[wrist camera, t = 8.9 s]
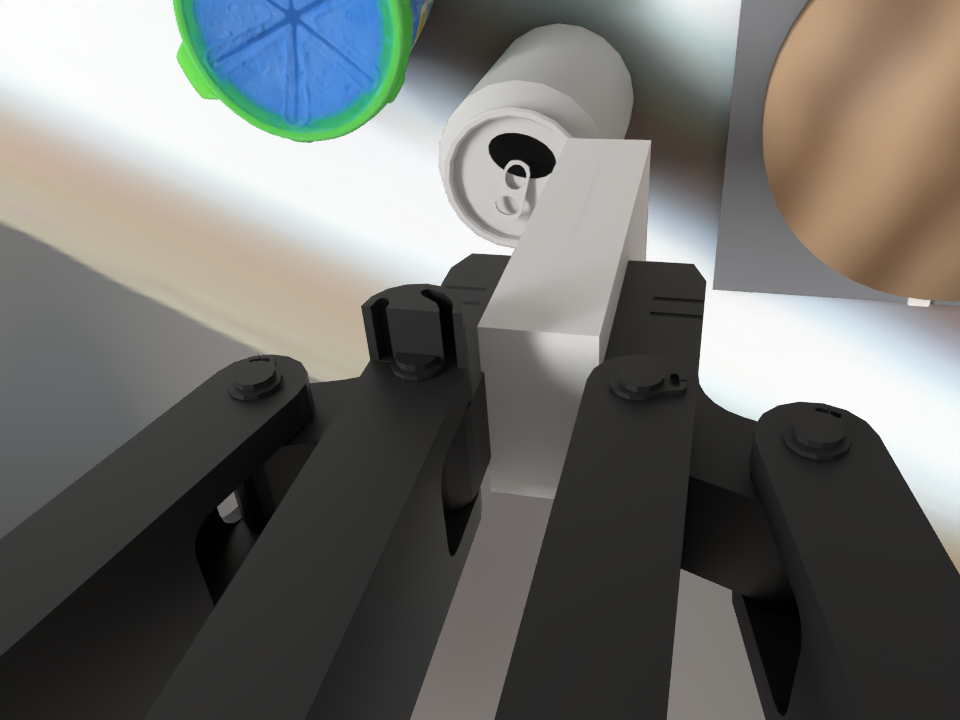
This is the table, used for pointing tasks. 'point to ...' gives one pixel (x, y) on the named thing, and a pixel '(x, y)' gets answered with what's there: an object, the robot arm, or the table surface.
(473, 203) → the can
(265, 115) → the snack cup
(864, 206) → the dial
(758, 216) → the dial base
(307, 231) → the table surface
